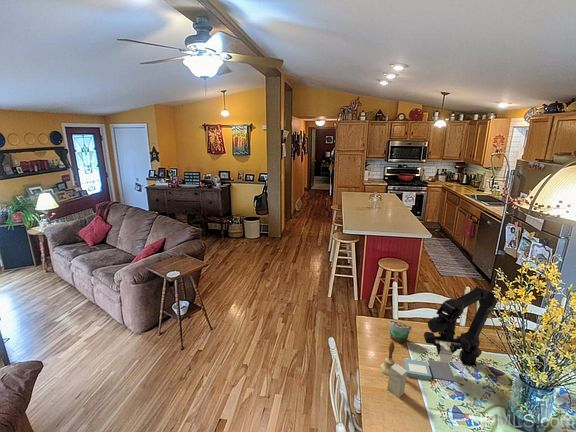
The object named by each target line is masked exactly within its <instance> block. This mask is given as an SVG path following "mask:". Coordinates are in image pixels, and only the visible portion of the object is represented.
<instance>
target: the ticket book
mask: <svg viewBox="0 0 576 432" xmlns="http://www.w3.org/2000/svg"><path fill="white" fill-rule="evenodd" d="M403 365H404V369H406V370H407V371H408V372H407V377H409V378H410V377H411V378H416V379H423V380H430V381H431V380H432V379H433V376H432V372H431V369H430V366H429V362H428V360H426V361H425V360H419V359H414V358H413V359H412V358H407V357H403Z"/></svg>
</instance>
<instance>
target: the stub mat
mask: <svg viewBox="0 0 576 432" xmlns="http://www.w3.org/2000/svg"><path fill="white" fill-rule="evenodd" d="M427 363H428V366H429V369H430V373H431V376H432V379H436V380H442V381H448V382H454V383H455V381H456V380H455V378H454V377H455V376H454V375H453V372H452V370H451V367H450V365H449V364H450V363H446V362H440V360H431V359H427Z"/></svg>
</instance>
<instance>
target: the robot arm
mask: <svg viewBox="0 0 576 432" xmlns="http://www.w3.org/2000/svg"><path fill="white" fill-rule="evenodd" d="M477 302H478V308H477V309H476V313H475V314H474V316H473V319H472V320H471V321H472V322H470V323H471V324H470V325H469V328H468V330H467V331H465V332H463V333H460V335H457V336H456V337H455V335H456V327H457V326H456V325H457V321H458V320H459V319H461V315H462V314H464V310H465V309H466V308H467V307H470V306H471V305H473V304H475V303H477ZM496 303H497V300H496V299H495V297H494V294H493V291H491V290H489V289H488V288H483V287H481V286H475V287H474V288H473V289H471V291H468V292H467V293H465V294H464V295H462V296H460V297H458V298H450V299H447V300H445V301H443V302H442V304H441V305H440V306H439V308H438V310H436V313H435V314H436V315H438V316H434V317H432V319H429V320H428V321H427V327H428V329H429V331H425V332H424V333H423V337H424V340H425V343H426V344H429V345H433V346H434V347H435V348H436V353H438V354H437V356H438V355H439V353H440V343H439V342H441V343H448V344H450V345H449V347H450V349H451V352H452V355H453V354H454V353H455V352H457V351H458V350H460V351H459V354H458V358H459V360H460V362H461V364H462V365H463V366H464V365H465V366H470V367H477V366H478V365H477V363H476V362H477V358H480V356H481V355H482V353H483V351H482V350H481V349H480V348H479V346H480V343H481V342H480V334H481V332H482V331H483V328H484V326H485V324H486V322H487V319H488V318H489V315H490V313H491V311H492V310H494V308H495V305H496ZM495 309H496V308H495ZM436 333H438V336H437V335H435V334H436Z"/></svg>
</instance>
